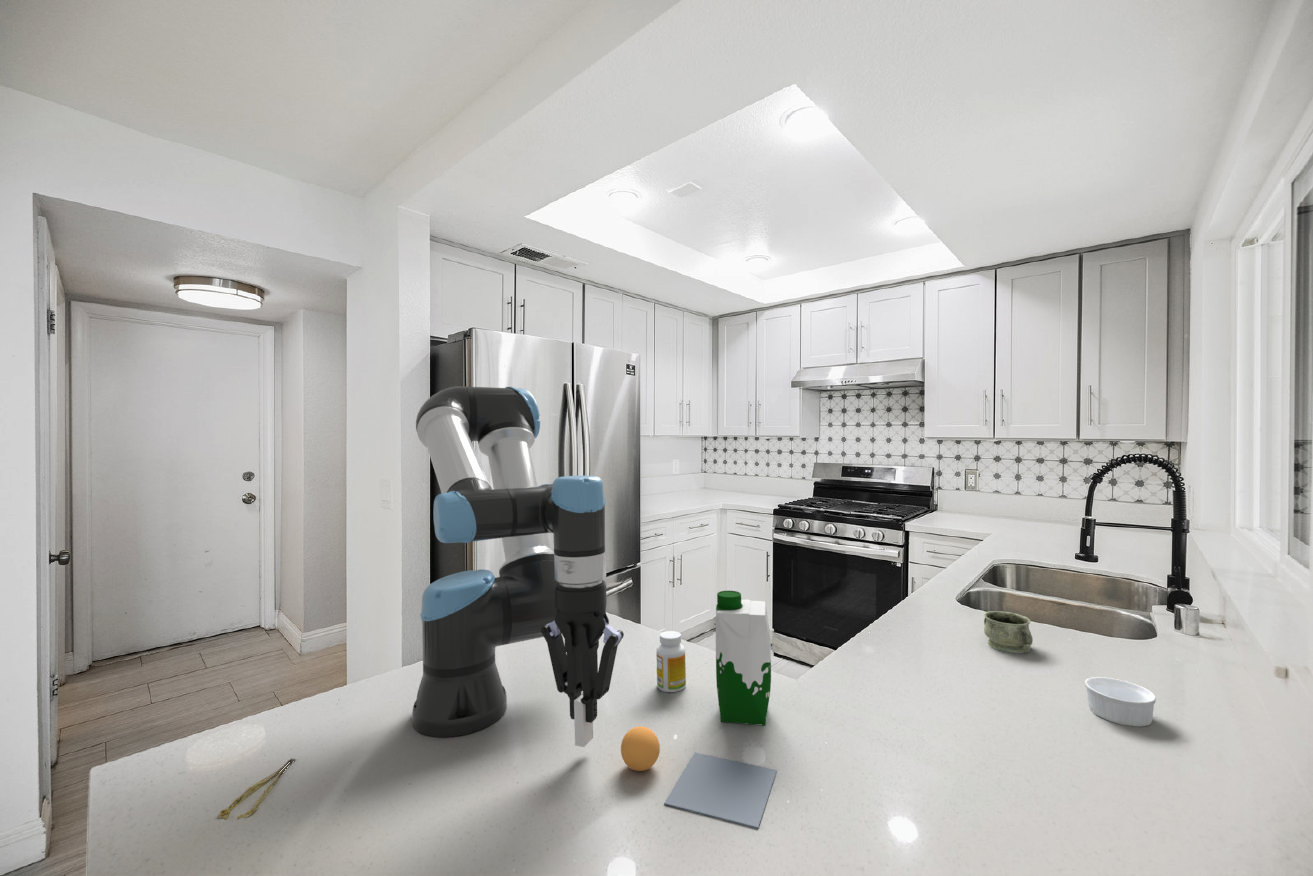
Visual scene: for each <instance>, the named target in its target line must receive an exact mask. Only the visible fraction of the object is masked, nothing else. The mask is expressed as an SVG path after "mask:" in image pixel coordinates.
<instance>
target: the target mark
mask: <svg viewBox="0 0 1313 876" xmlns="http://www.w3.org/2000/svg"><path fill="white" fill-rule="evenodd" d="M777 772H778V769H775V768H770V767H766V766H761V765H756V764H752V763H746V762H743V761H739V760H733V759H728V758H724V757H719V756H713V755H708V754H705V753H700V752H696V751H695V752H693V754H692V756H691V757H690V758H689V761H688V763H686V765H685V768H684V769H683V771H682V773H681V774H680V775H679V777H678V779H677V781H675V782H676V783H675V785H674V786H673V787H672V789H671V791H670V793H669V794H668V796H667V798H666V799H665V801H664V806H667V807H671V808H676V809H679V810H684V811H687V812H692V813H695V814H700V815H703V816H706V817H710V818H714V819H718V820H722V821H727V822H730V823H734V824H738V825H742V826H744V827H749V828H753V829H757V830H758V829H759V827H760V825H761V822H762V819H763V815H764V813H765V810H766V806H767V803H768V800H769V797H770V794H771V791H772V788H771V787H773V785H772V784H774V782H775V779H774V778H776V776H775V775H777ZM773 781H774V782H773Z"/></svg>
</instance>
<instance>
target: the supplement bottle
mask: <svg viewBox="0 0 1313 876" xmlns="http://www.w3.org/2000/svg"><path fill="white" fill-rule="evenodd" d="M659 643H660V644H659V645H658V646H657V647H656V650H655V651H656V654H655V655H656V685H657V688H658V689H659V690H660V691H661V692H665V693H677V692H680V691H683V690H684V689H685V688H686V686H687V678H686V677H687V673H686V669H687V668H686V649H685V647H684V645H683V644H681V643H682V634H681V633H680V632H679V631H676V630H675V631H674V630H671V631H670V630H666V631H663V632H661V633H660V634H659Z"/></svg>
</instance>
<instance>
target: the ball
mask: <svg viewBox="0 0 1313 876" xmlns="http://www.w3.org/2000/svg"><path fill="white" fill-rule="evenodd" d="M660 751H661V748H660V742H659V738H658V736H657V735H656V733H655V732H654V731H653V730H652V729H650V728H649V727H646V726H635V727H633V728H631V729H629V730H627V732H626V733H625V734H624V735H623V738H622V740H621V743H620V754H621V758H622V760H623V761H624V764H625V765H626V766H627V767H628V768H629V769H631V770H632V771H633V770H634V771H636V772H644V771H647V770H650V769H651V768H652V767H653V766H654V765H655V764H656V762H657V761H658V759H659V757H660Z"/></svg>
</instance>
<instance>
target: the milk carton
mask: <svg viewBox="0 0 1313 876" xmlns="http://www.w3.org/2000/svg"><path fill="white" fill-rule="evenodd" d="M716 594H717V595H716V601H717V602H716V603H717V604H716V606H715V610H716V611H715V618H716V619H715V671H716V672H715V673H716V674H715V675H716V676H715V677H716V694H717V700H718V701H717V702H718V707H719V715H720V722H721V723H732V724H741V723H748V724H747V725H753V724H762V725H761V726H766V722H767V718H768V717H767V715H768V709H769V703H770V698H771V684H772V657H771V656H772V655H771V654H772V652H771V650H772V649H771V648H772V647H771V633H770V630H771V629H770V623H769V616H768V610H767V601H764V600H751V599H742V594H741V592H739V591H735V590H721V591H718V592H717V593H716Z"/></svg>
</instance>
